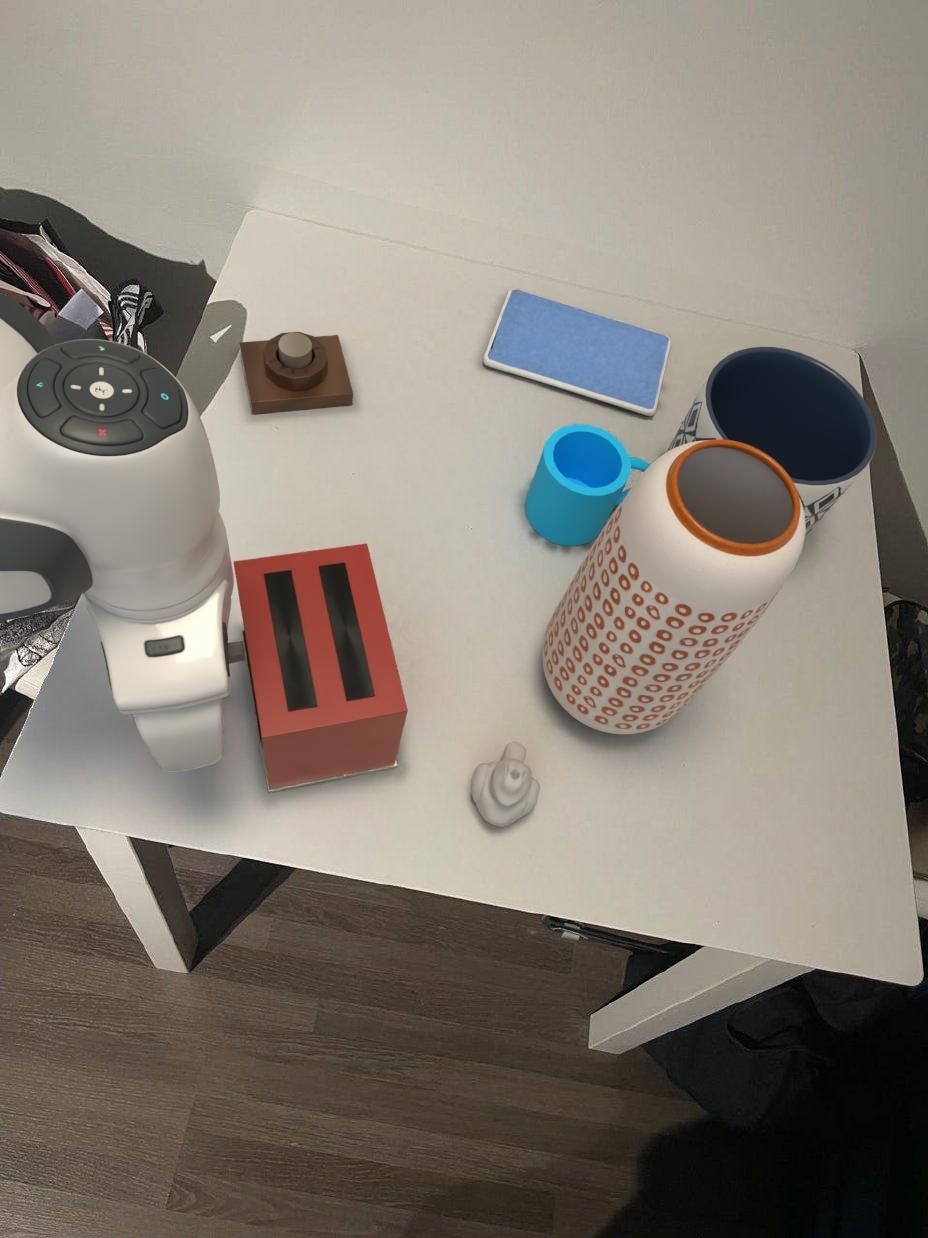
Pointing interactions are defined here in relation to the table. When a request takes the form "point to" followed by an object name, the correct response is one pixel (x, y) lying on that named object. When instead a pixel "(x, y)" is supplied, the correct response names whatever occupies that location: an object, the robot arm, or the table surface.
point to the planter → (787, 420)
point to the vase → (673, 585)
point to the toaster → (320, 666)
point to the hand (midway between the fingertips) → (187, 665)
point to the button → (295, 350)
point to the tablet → (579, 351)
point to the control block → (295, 376)
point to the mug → (578, 484)
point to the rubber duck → (505, 787)
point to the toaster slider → (235, 652)
